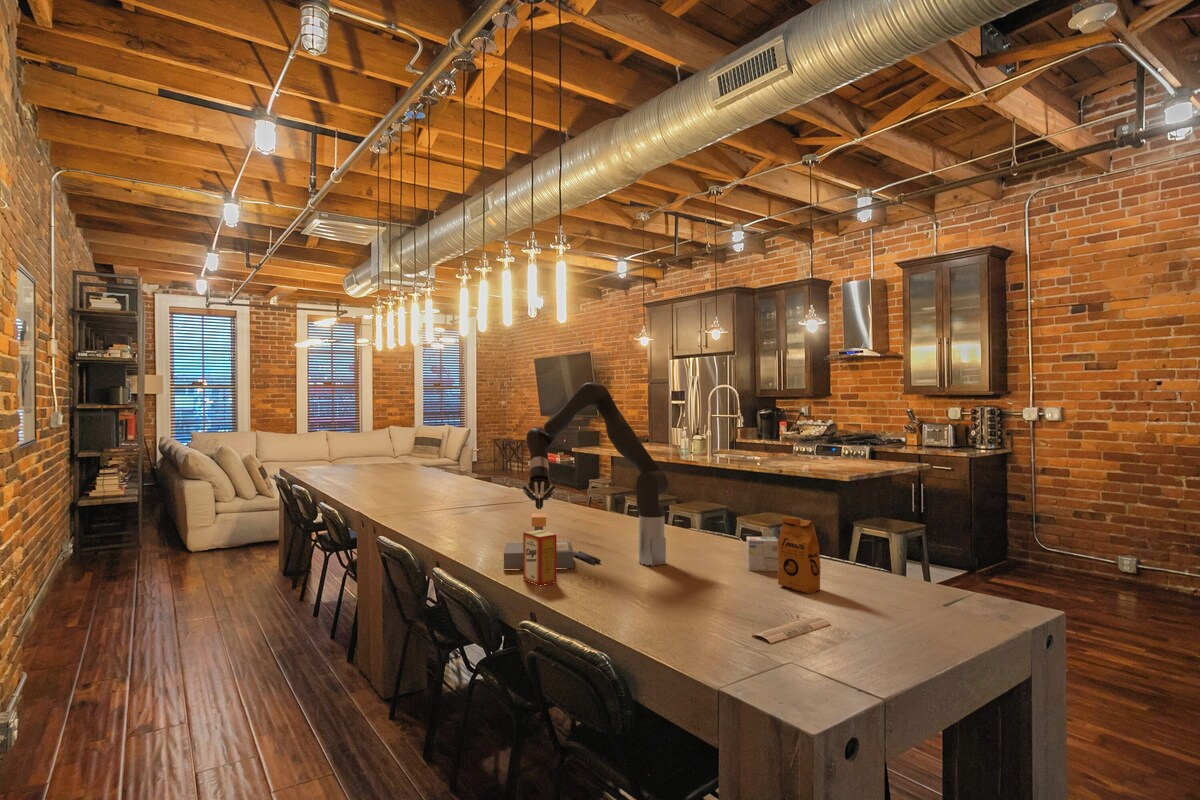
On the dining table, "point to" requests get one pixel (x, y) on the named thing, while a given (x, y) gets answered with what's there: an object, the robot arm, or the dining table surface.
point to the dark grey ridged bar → (587, 557)
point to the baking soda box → (539, 557)
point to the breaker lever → (538, 520)
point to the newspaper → (793, 629)
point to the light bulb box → (762, 553)
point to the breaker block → (515, 555)
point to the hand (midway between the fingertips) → (539, 508)
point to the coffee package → (798, 556)
